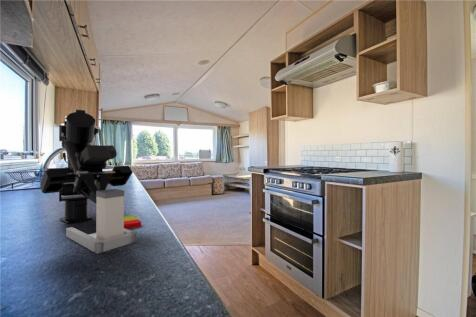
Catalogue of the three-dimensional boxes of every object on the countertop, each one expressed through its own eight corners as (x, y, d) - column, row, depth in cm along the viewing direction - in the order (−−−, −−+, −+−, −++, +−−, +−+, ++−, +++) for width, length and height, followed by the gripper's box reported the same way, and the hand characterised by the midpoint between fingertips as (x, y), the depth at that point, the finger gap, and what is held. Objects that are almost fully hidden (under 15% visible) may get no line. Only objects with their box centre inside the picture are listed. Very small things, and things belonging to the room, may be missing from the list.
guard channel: (66, 236, 56) (66, 228, 56) (103, 227, 63) (103, 220, 63) (97, 253, 47) (97, 243, 47) (136, 241, 54) (136, 232, 53)
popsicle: (120, 232, 61) (120, 225, 61) (110, 219, 73) (110, 213, 73) (142, 228, 65) (142, 221, 64) (129, 216, 76) (129, 211, 76)
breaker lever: (95, 241, 52) (96, 190, 51) (114, 236, 55) (114, 188, 55) (104, 245, 49) (105, 192, 49) (123, 240, 53) (124, 190, 52)
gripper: (44, 130, 49) (64, 188, 43) (129, 136, 65) (153, 179, 58) (33, 165, 54) (49, 222, 48) (114, 163, 69) (135, 206, 63)
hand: (102, 205), depth 54 cm, fingers closed
